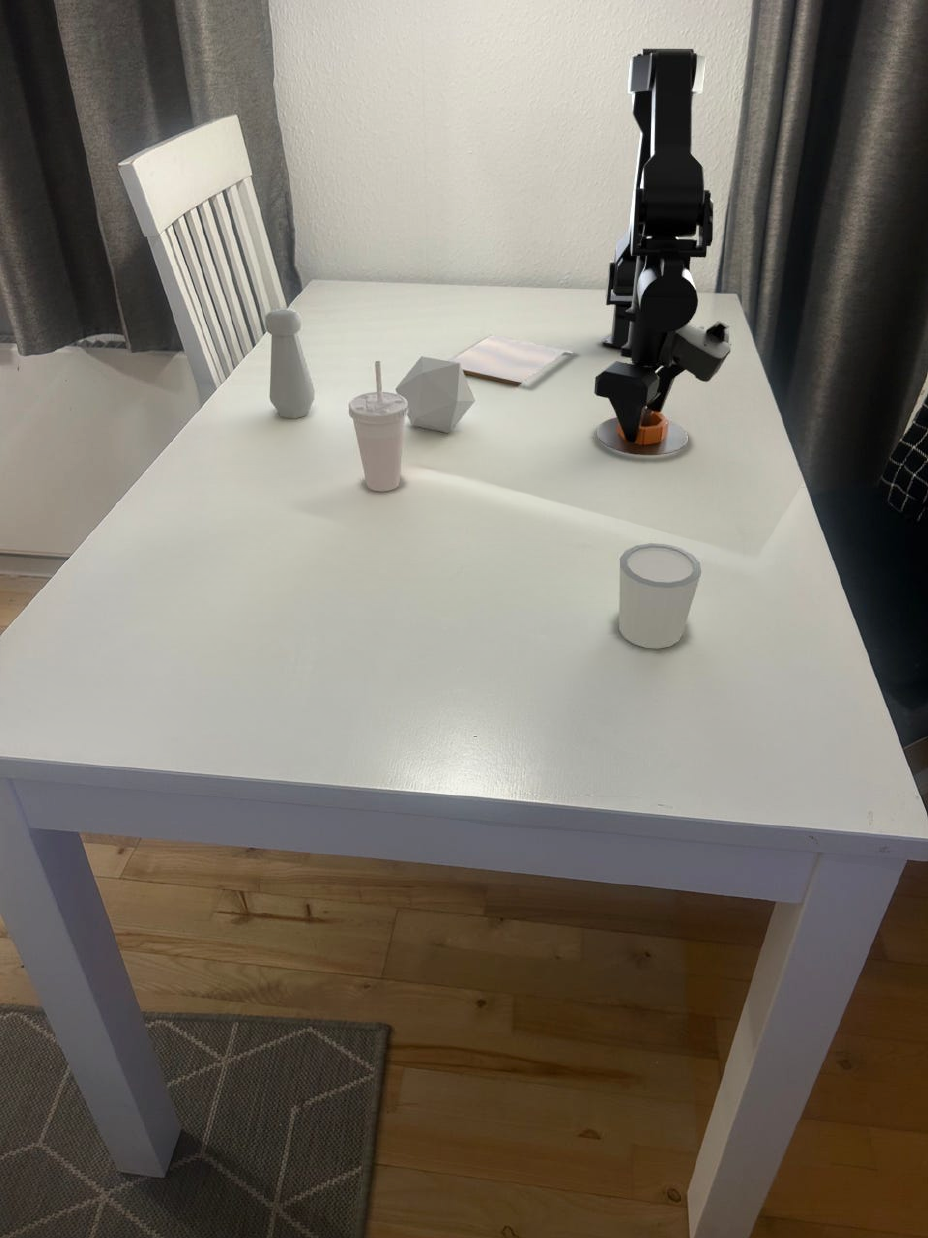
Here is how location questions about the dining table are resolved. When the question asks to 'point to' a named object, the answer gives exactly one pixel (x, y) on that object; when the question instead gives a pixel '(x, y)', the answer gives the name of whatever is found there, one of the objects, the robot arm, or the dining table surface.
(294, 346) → the salt shaker
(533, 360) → the trivet
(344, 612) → the dining table surface
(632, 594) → the shot glass
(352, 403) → the smoothie
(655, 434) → the ring
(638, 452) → the ring post
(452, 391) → the die
